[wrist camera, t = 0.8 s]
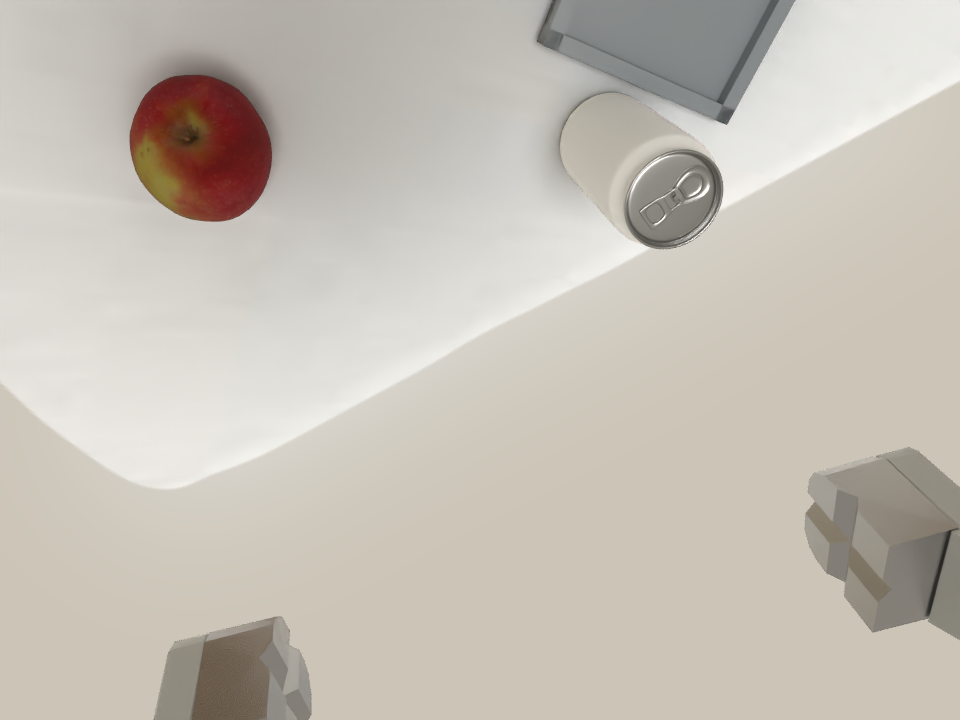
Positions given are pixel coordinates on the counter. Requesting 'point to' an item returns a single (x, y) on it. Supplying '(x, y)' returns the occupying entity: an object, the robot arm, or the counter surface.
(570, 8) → the tray
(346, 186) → the counter surface
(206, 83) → the apple
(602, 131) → the can
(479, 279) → the counter surface
